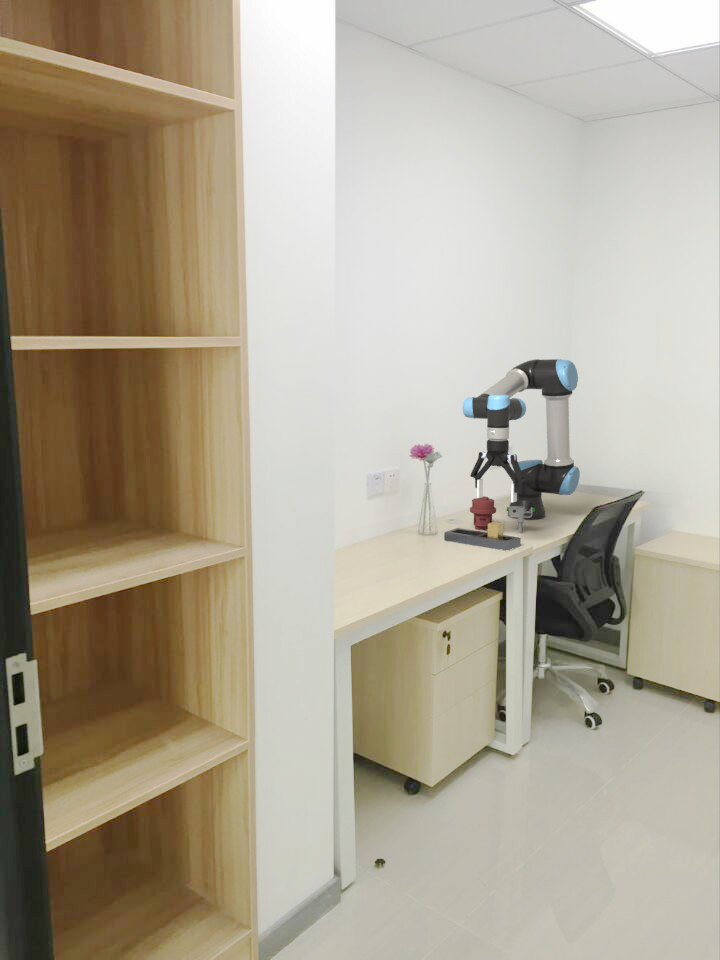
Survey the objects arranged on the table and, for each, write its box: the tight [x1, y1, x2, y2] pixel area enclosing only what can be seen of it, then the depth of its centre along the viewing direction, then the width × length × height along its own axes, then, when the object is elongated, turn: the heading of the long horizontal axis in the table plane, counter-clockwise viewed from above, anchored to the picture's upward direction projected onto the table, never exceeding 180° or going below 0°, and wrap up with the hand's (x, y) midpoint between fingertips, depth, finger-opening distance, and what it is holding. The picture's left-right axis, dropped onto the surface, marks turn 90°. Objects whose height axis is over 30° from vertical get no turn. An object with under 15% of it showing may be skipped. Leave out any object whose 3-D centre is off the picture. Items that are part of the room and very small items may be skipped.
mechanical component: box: [506, 505, 535, 534], centre depth 315 cm, size 3×10×10 cm, turn 79°
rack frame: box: [443, 527, 521, 551], centre depth 300 cm, size 9×26×3 cm, turn 51°
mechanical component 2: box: [469, 495, 497, 531], centre depth 322 cm, size 12×10×10 cm
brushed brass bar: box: [487, 521, 504, 540], centre depth 295 cm, size 4×4×8 cm
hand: (496, 499), depth 294 cm, fingers open, 13 cm apart
